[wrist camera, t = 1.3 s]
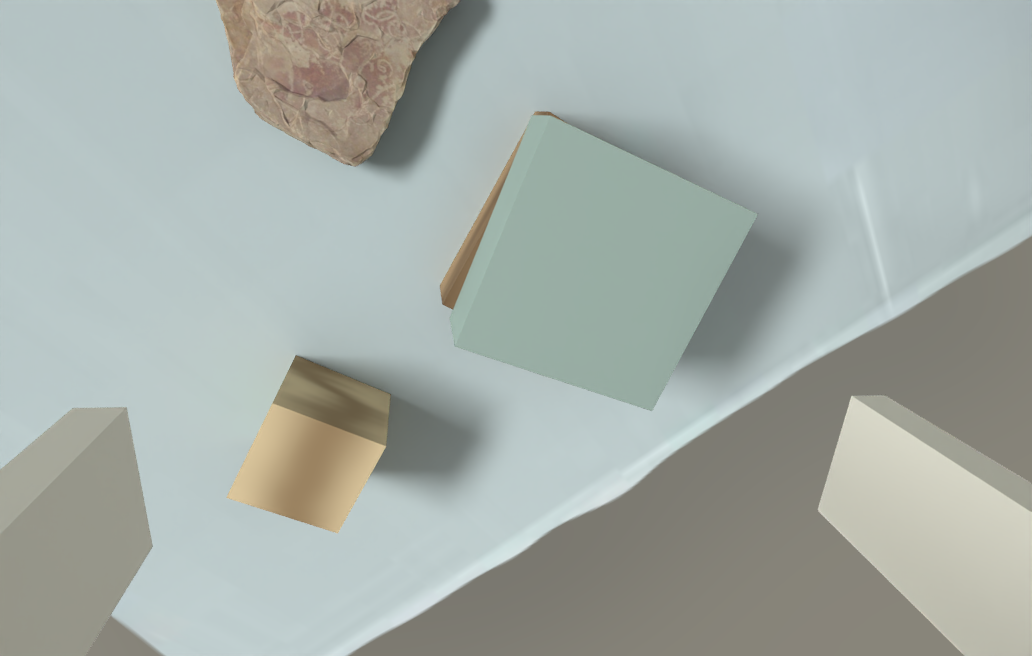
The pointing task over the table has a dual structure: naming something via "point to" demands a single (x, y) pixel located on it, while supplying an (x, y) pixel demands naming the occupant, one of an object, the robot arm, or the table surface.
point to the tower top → (595, 265)
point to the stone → (328, 65)
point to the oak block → (315, 447)
